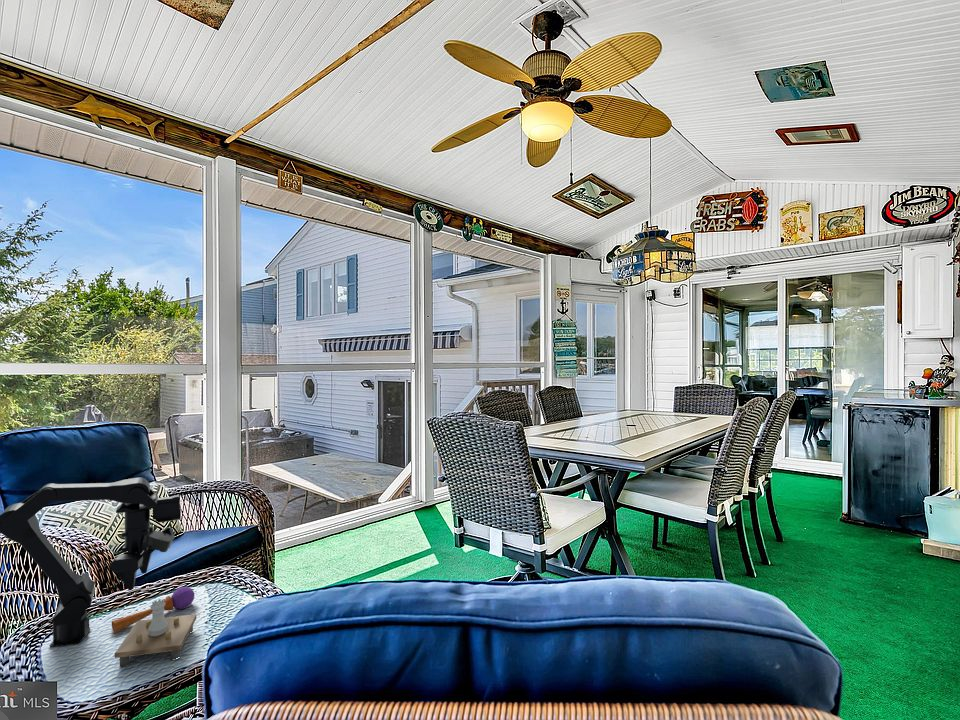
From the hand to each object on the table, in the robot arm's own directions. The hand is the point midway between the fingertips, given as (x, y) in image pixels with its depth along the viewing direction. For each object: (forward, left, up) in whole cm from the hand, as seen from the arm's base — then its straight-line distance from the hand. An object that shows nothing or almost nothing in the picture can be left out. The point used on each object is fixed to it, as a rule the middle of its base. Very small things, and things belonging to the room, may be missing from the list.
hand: (137, 581), depth 138 cm
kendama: (+3, +3, -12) cm, 13 cm away
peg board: (+9, -13, -12) cm, 20 cm away
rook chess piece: (+9, -13, -8) cm, 18 cm away
